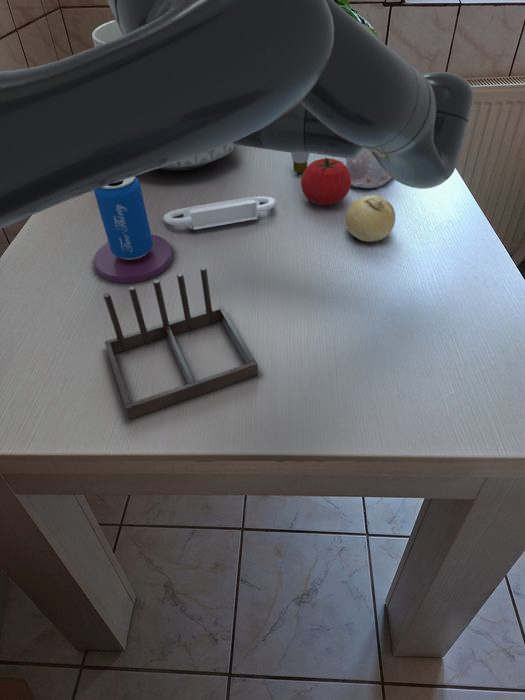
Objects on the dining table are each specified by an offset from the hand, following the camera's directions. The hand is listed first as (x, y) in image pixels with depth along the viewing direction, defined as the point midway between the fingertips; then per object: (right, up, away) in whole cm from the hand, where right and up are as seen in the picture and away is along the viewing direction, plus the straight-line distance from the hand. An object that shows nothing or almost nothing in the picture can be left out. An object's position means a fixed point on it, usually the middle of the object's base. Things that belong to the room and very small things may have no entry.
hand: (147, 97), depth 59 cm
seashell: (+34, +4, +38) cm, 51 cm away
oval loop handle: (+6, -7, +29) cm, 30 cm away
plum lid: (-7, -16, +20) cm, 26 cm away
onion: (+31, -11, +23) cm, 41 cm away
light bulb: (+21, +5, +40) cm, 45 cm away
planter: (-3, +10, +46) cm, 47 cm away
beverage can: (-7, -15, +19) cm, 25 cm away
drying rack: (+3, -32, +4) cm, 32 cm away
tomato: (+25, -3, +32) cm, 41 cm away
